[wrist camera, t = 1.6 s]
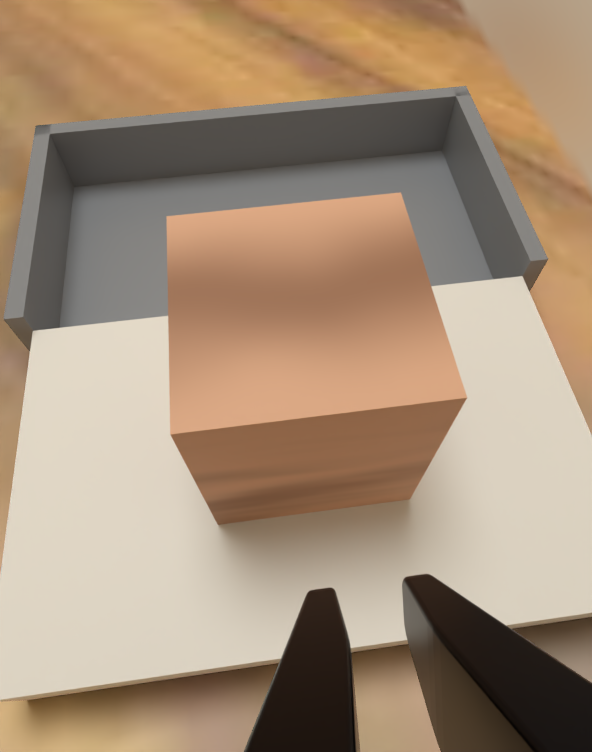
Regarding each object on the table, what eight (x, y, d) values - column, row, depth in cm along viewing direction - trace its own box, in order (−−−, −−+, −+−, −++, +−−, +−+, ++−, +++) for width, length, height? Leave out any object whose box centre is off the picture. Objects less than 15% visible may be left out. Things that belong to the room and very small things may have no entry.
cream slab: (618, 612, 21) (663, 602, 18) (26, 700, 19) (-17, 702, 17) (501, 315, 28) (522, 276, 25) (59, 366, 26) (32, 331, 24)
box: (517, 313, 28) (548, 259, 24) (42, 367, 26) (3, 319, 23) (449, 147, 34) (466, 86, 30) (64, 185, 33) (35, 125, 29)
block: (410, 499, 20) (467, 397, 13) (217, 525, 19) (170, 434, 13) (371, 339, 23) (401, 192, 16) (207, 359, 23) (166, 216, 16)
